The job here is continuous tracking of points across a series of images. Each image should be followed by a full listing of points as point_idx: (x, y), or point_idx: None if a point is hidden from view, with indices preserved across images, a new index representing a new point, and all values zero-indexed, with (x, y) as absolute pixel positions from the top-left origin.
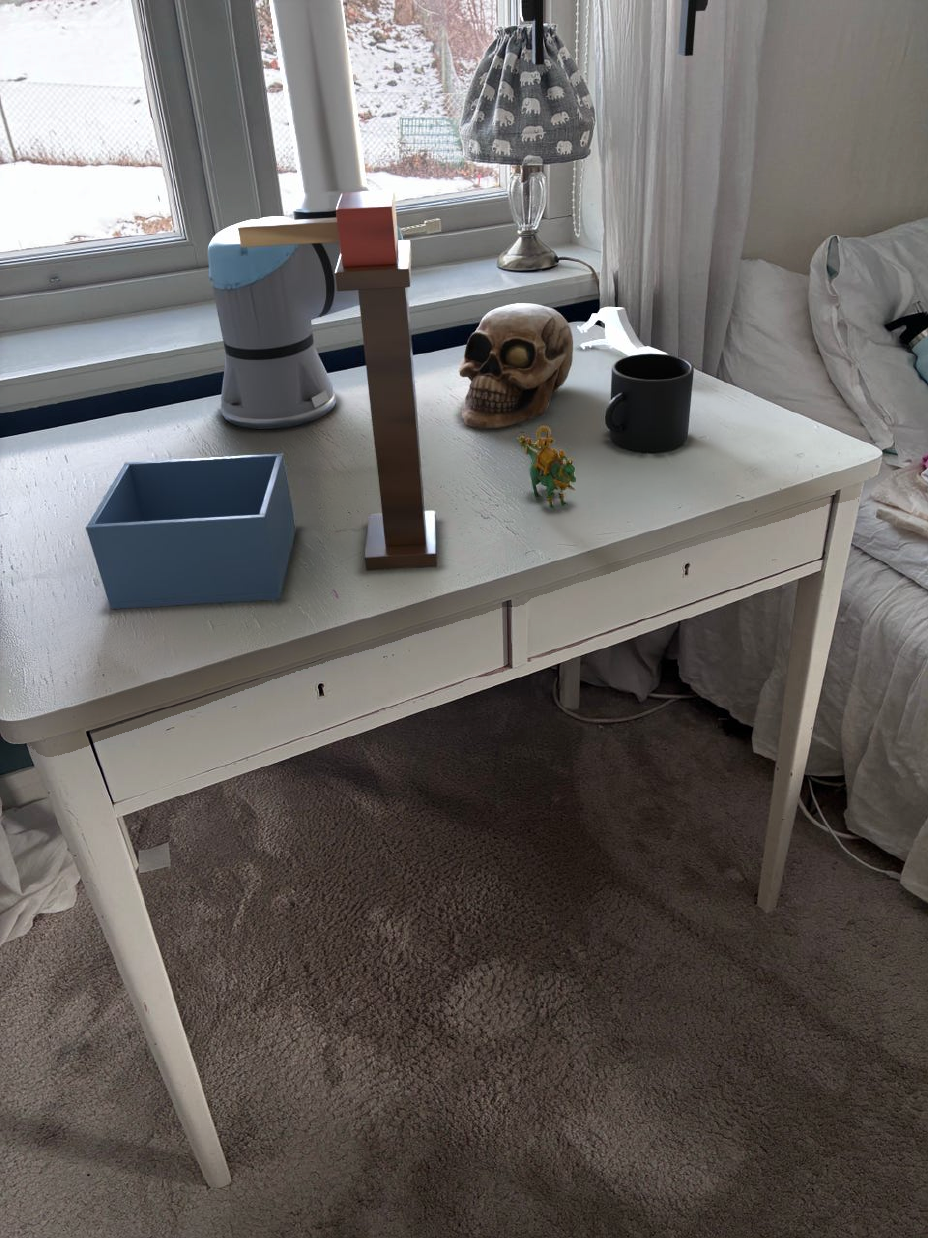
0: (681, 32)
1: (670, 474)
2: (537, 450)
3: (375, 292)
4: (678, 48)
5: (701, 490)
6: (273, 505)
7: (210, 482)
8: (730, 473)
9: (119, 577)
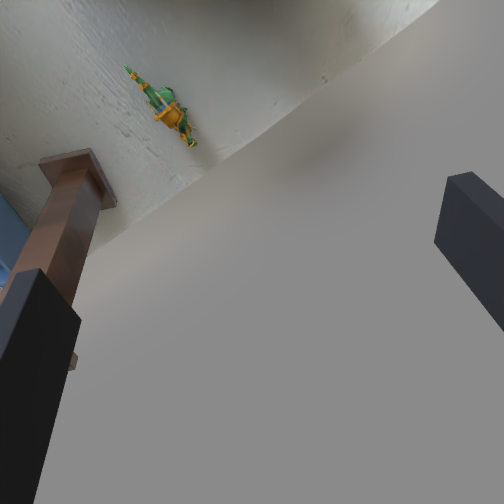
0: (473, 232)
1: (273, 36)
2: (156, 112)
3: None
4: (455, 185)
5: (296, 70)
6: (4, 253)
7: None
8: (327, 30)
9: None
